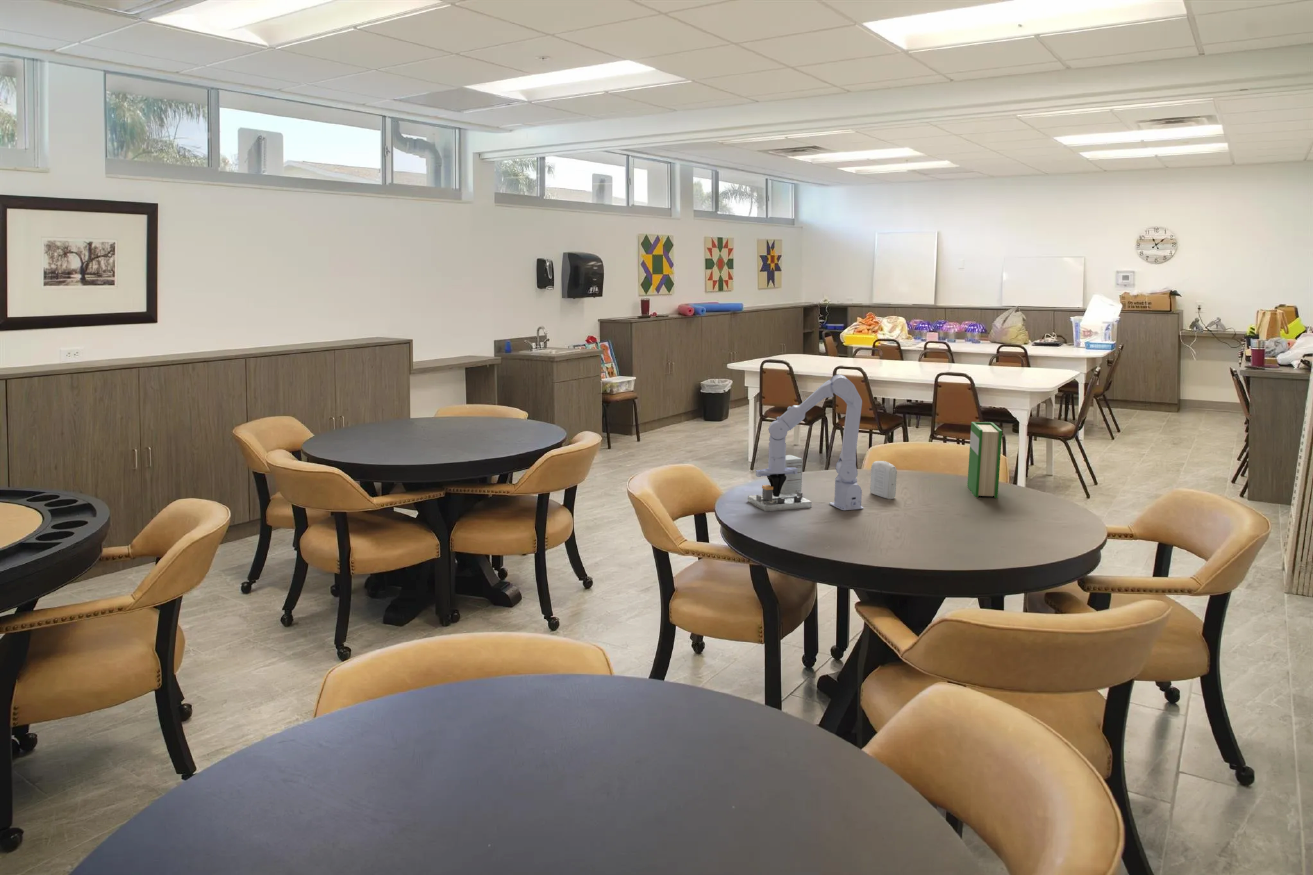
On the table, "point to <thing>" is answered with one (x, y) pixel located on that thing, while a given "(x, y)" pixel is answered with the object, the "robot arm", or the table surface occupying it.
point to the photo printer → (883, 479)
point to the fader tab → (767, 492)
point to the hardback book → (984, 459)
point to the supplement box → (793, 475)
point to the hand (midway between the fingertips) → (776, 496)
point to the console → (780, 502)
